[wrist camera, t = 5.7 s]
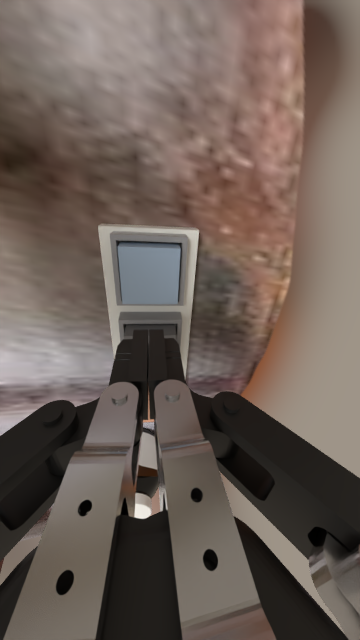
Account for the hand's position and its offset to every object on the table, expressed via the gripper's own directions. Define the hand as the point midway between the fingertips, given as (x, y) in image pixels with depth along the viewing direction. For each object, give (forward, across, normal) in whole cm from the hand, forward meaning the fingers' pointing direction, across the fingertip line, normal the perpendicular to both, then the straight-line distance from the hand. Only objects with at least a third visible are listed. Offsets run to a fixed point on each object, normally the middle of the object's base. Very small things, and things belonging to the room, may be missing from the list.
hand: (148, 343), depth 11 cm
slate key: (+13, 0, 0) cm, 13 cm away
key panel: (+16, 0, +9) cm, 19 cm away
